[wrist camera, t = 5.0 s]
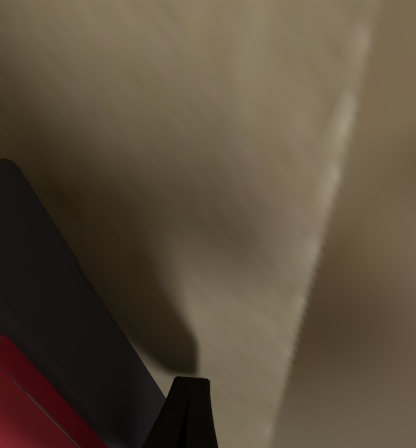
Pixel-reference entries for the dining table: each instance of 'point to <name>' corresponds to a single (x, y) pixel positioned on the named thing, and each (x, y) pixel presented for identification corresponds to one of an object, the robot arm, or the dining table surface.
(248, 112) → the dining table surface
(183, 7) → the dining table surface
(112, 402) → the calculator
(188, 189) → the dining table surface
